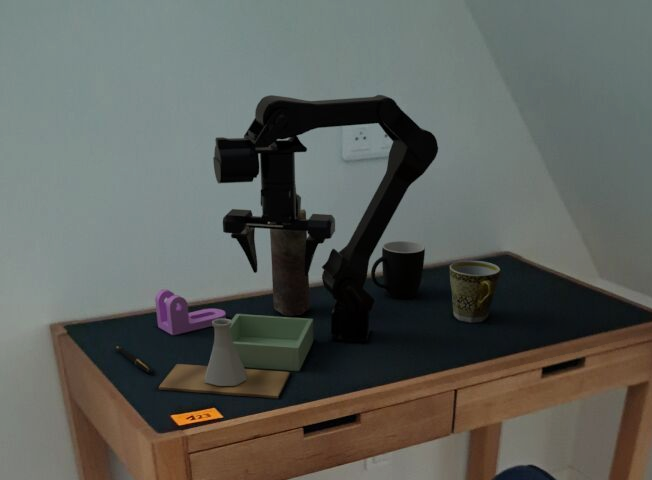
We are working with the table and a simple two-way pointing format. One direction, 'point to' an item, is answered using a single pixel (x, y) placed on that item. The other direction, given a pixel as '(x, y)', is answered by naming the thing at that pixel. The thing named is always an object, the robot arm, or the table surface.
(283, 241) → the brown tall block
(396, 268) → the mug
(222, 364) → the flask
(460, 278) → the ceramic cup
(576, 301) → the table surface
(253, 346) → the bin
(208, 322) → the bracket
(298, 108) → the robot arm
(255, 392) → the cork mat
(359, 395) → the table surface
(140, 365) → the fountain pen
